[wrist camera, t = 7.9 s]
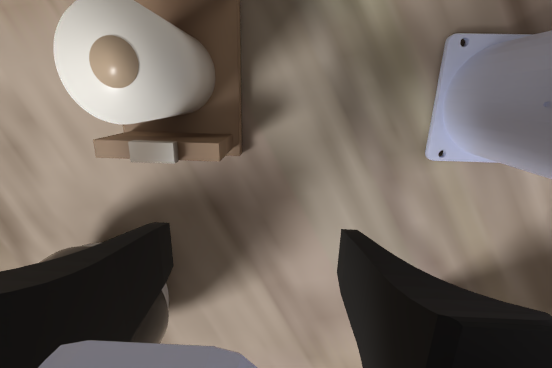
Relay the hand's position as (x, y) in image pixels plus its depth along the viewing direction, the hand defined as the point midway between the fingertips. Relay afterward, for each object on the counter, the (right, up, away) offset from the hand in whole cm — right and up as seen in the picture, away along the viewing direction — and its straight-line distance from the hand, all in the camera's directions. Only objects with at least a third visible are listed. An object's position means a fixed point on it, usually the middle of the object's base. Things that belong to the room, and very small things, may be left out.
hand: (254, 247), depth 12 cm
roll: (-5, +10, +6) cm, 13 cm away
